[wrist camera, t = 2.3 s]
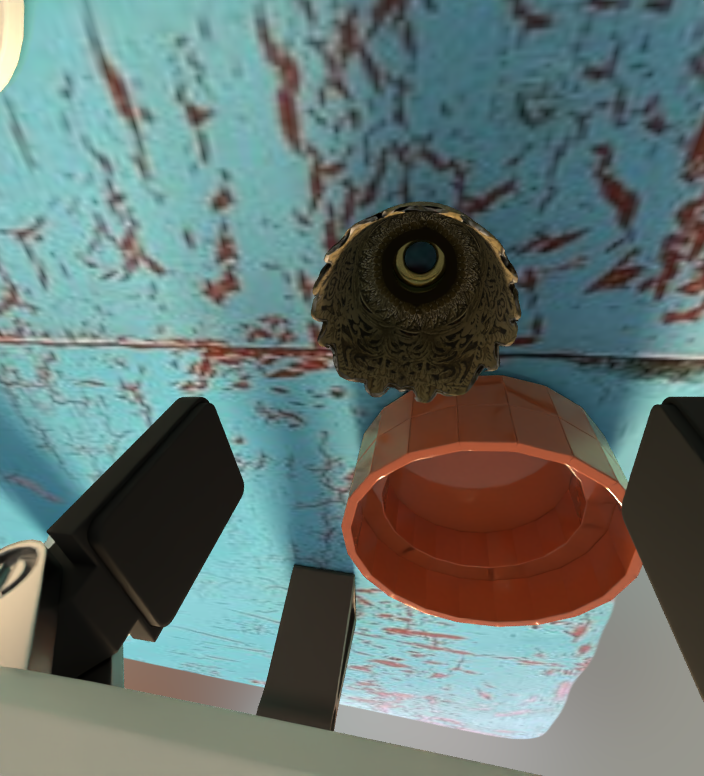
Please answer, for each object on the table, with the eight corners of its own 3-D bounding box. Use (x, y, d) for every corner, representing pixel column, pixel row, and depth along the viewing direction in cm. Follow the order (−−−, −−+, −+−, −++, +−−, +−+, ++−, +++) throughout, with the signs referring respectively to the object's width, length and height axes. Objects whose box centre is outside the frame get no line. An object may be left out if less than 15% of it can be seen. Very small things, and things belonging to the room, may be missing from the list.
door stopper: (356, 621, 43) (331, 770, 33) (302, 611, 44) (262, 753, 34) (355, 573, 38) (325, 731, 28) (294, 562, 39) (244, 713, 29)
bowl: (345, 373, 26) (320, 439, 20) (631, 365, 22) (692, 444, 17) (373, 535, 34) (360, 611, 29) (582, 549, 30) (612, 640, 25)
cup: (515, 186, 18) (557, 223, 12) (476, 331, 22) (490, 418, 16) (355, 170, 19) (310, 196, 13) (346, 313, 23) (309, 388, 17)
